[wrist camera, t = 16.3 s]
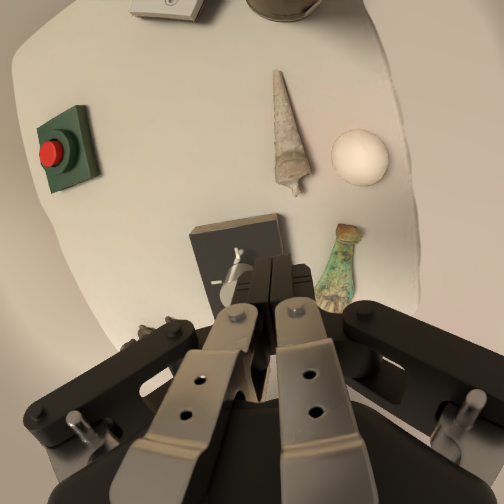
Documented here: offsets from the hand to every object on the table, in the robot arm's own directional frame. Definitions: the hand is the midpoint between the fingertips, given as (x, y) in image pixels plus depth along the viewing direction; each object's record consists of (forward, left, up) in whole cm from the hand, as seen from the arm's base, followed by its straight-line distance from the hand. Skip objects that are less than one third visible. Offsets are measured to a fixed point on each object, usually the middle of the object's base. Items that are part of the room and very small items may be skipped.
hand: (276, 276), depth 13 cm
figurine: (+14, +5, -25) cm, 29 cm away
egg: (-2, +9, -25) cm, 27 cm away
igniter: (-12, -29, -25) cm, 40 cm away
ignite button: (-12, -29, -21) cm, 38 cm away
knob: (+11, -7, -22) cm, 25 cm away
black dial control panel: (+11, -7, -25) cm, 28 cm away
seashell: (-6, +1, -25) cm, 26 cm away
